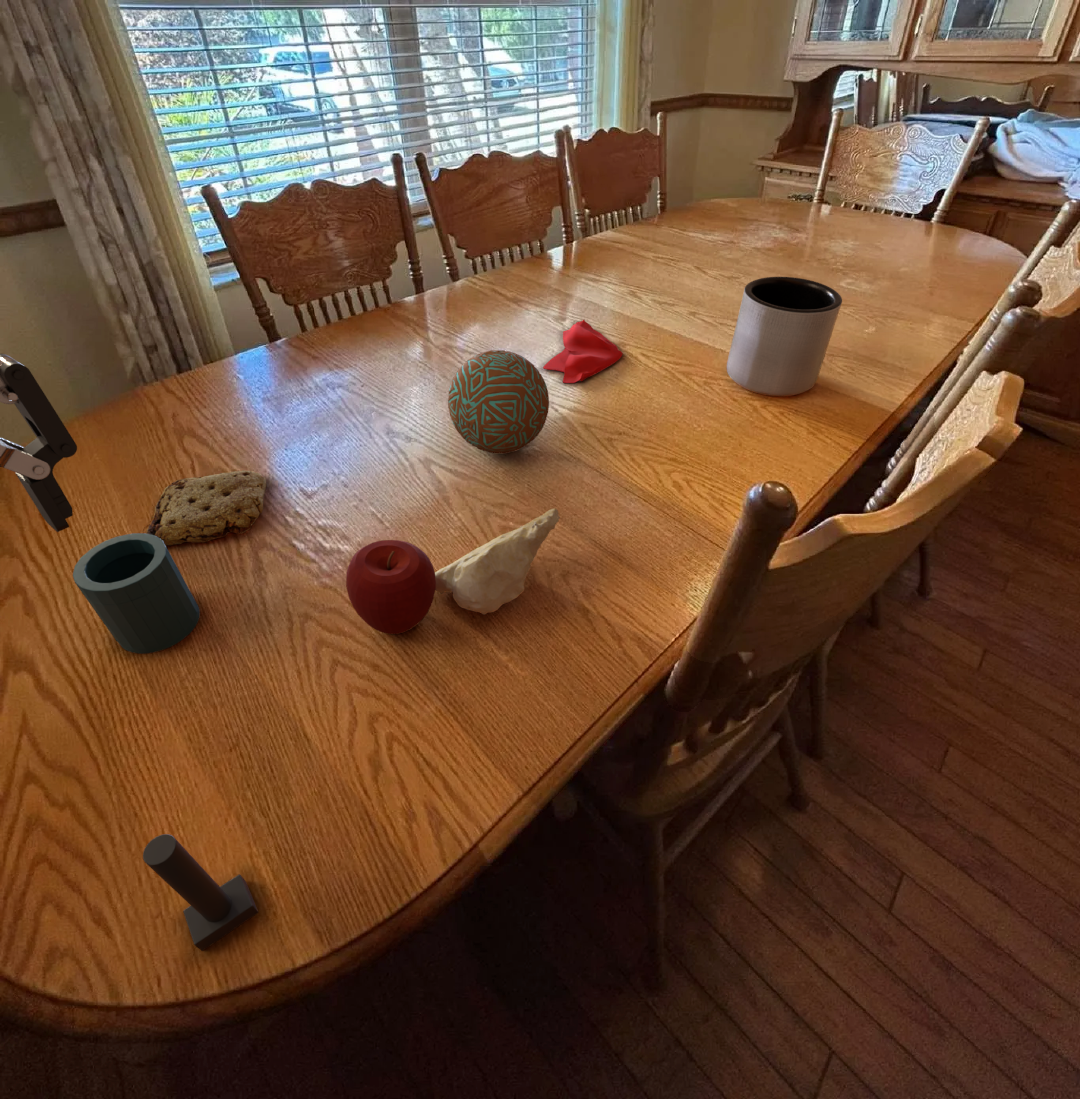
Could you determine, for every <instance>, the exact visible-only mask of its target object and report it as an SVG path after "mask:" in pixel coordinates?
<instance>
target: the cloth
mask: <svg viewBox="0 0 1080 1099" xmlns="http://www.w3.org/2000/svg"><path fill="white" fill-rule="evenodd" d="M562 342H563V347H564V349H563V350H562V351H561V352H559V353H558V354H556V355H554V356H553V357H552V358H551V359H550V360H548V361H547V362H546V363H545V364H544V366H543V367H542V369H543V370H550V371H557V372H561V373H564V374H563V379H562V383H563V384H576V383H578V382H584V381H585V380H586V379H589V378H590V377H592V376H594V375H596V374H598V373H600V372H602V371H604V370H605V369H607V368H608V367H610V366H612V365H614V364H615V363H617V362H618V361H619V360H621V358H622V357H623V354H624V353H623V352H622V351H621V350H619V348H618V346H617V345H616V344H614V343H613V342H612V341H611V340H609V339H608V338H607V337H606V336H605V335H603V334H602V333H601V332H600V331H598V330H596V329H594V328H593V326H591V325H590V324H589V323H588V322H587V321H586V320H585V319H582V320H580V321H577V322H575V323H573V325H571V327H570V328H569V329H567V330H563V331H562Z"/></svg>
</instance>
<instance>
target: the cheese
mask: <svg viewBox="0 0 1080 1099" xmlns="http://www.w3.org/2000/svg"><path fill="white" fill-rule="evenodd" d="M560 518H561V516H560V514H559V510H558V509H557V508H556V507H555V508H550V509H548V510H547V511H546V512H544V513H543V514H541V515H540V516H537V517H535V518H534V519H532V520H531V521H529V522H526V523H525V524H524V525H520V526H519V527H518V528H516V529H514V530H511V531H509V532H506V533H503V534H501V535H499V536H498V535H497V537H495V538H493V539H491V540H490V541H488V542H487V543H484V544H483V545H481V546H478V547H477V548H475V549H473V550H472V551H470V552H468V553H466V554H465V555H463V556H461V557H460V558H459V559H456V560H455V561H453V562H452V563H450V564H448V565H446V566H445V567H442V568H439V570H437V571H435V577H436V589H435V592H437V593H439V594H440V595H443V594H444V593H445V592H451V593H452V598H453V600H454V601H455V602H456V604H457V606H459V607H460V608H461V609H464V610H468V611H472V612H476V613H481V614H482V615H487V613H494V612H496V611H498V609H500V607H501V606H502V605H504V604H508V603H510V602H512V601H513V600H515V599H516V598H518V597H519V596H520V594H522V593H523V592H524V591H525V585H524V584H525V582H526V577H527V575H528V573H529V571H530V569H531V565H532V563H533V562H534V560H535V558H536V556H537V554H538V551H539V549H540V547H541V545H542V544H543V543H544V542H545V541H546V539H547V538H548V536H549V534H550V532H551V531H552V530H554V529H555V527H556V525H557V524H558V522H560Z"/></svg>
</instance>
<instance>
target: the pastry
mask: <svg viewBox="0 0 1080 1099" xmlns="http://www.w3.org/2000/svg"><path fill="white" fill-rule="evenodd" d="M266 488H267V479H266V478H265V477H264V476H263V475H262V473H259V472H256V471H255V470H245V469H243V470H237V471H235V470H234V471H229V472H221V473H217V474H209V475H206V476H199V477H183V478H180V479H176V480H175V481H173V482H172V483H171V484H169V485H167V486H166V487H165V488H164V489H163V492H162V494H161V495H160V497H159V499H158V501H157V502H156V504H155V507H154V513H153V516H152V520H151V522H150V524H148V527H147V528H146V532H145V533H146V534H150V535H155V536H157V537H158V538H160V539H161V540H163V542H164V544H165V545H166V546H168V547H169V546H175V545H182V544H183V543H205V542H209V541H211V540H216V539H220V538H224V537H226V536H227V534H229V533H234V534H237V535H238V534H239V535H240V534H244V533H246V532H247V531H250V530H251V529H252V525H253V524H254V523H255V522H256V520H257V519H259V516H260V514H262V513H263V511H264V497H265V495H266V494H265V493H266Z"/></svg>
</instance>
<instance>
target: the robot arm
mask: <svg viewBox="0 0 1080 1099" xmlns="http://www.w3.org/2000/svg"><path fill="white" fill-rule="evenodd" d="M0 403H2V404H5V405H14V406H15V407H16V409H17V410H18V412H19V413H20V415H21V417H22V418H23V419H24V420H25V422H26V424H27V425H28V426H29V429H31V431H32V433H33V435H34V436H35V438H34V439H33V440H32V441H31V442H29V443H28V444H27V445H25V446H23V445H20V444H18V443H16V442H13V441H10V440H8V439H6V438H4V437H1V436H0V468H3V469H5V470H9V471H10V472H13V473H14V474H15V476H16V477H17V479H18V480H19V482H20V483H21V485H22V486H23V488H24V490H25V491H26V493H27V495H28V496H29V498H30V499H31V501H32V502H33V504H34V506H35V508H36V509H37V510H38V512H39V513H40V515H41V517H42V518H43V519H44V521H45V523H47V524H48V525H49V526H50V527H51V528H52V529H53V530H54V531H55V532H56V533H60V532H62V531H63V530H66V529H68V528H70V524H69V523H68V521H67V519H69V518H72V517H73V515H74V514H73V506H72V504H71V503H70V502H69V500H68V498H67V496H66V495H65V493H64V491H63V489H62V487H61V486H60V484H59V483H58V481H57V479H56V478H55V475H54V468H55V466H56V465H57V464H59V462H60V461H61V460H63V459H64V458H65V459H67V458H71V457H73V456H74V455H76V453H77V451H78V446H77V444H76V442H75V440H74V438H73V437H72V435H71V433H70V432H69V430H68V429H67V427H66V425H65V424H64V423H63V421H62V419H61V418H60V416H59V415H58V413H57V412H56V410H55V409H54V407H53V405H52V403H51V402H50V400H49V399H48V397H47V395H46V394H45V392H44V391H43V389H42V387H41V386H40V385H39V383H38V381H37V380H36V377H35V376H34V375H33V372H32V371H31V369H29V368H28V367H27V366H26V365H24V364H22V363H21V362H19V361H18V360H16V359H15V358H13V357H11V356H10V355H8V354H5V353H0Z"/></svg>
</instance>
